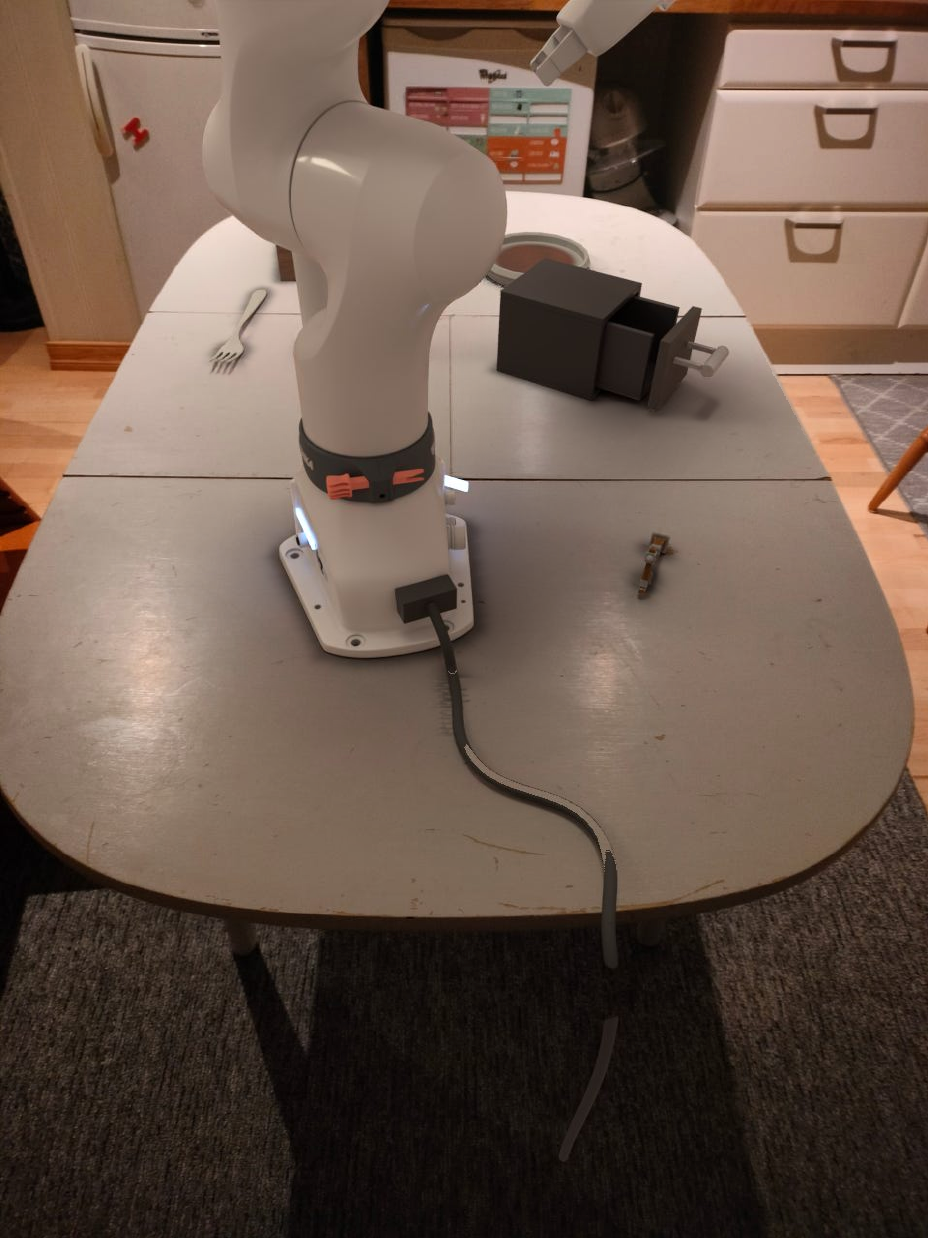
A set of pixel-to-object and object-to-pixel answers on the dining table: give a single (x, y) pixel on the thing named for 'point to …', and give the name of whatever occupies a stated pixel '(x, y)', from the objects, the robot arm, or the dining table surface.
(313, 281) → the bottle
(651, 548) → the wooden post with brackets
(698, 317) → the dark grey drawer
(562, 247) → the frying pan
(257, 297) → the fork
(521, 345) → the drawer box
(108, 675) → the dining table surface
